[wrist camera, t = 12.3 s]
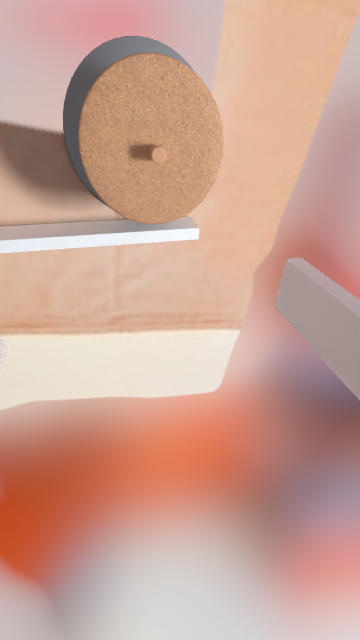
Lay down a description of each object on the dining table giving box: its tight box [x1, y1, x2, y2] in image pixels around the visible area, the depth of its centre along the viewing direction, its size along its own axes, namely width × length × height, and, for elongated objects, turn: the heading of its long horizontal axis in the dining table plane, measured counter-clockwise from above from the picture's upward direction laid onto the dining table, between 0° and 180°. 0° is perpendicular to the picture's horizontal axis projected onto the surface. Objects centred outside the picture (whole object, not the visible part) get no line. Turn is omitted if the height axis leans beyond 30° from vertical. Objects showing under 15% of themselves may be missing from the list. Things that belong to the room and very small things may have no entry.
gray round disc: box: [63, 36, 194, 204], centre depth 27 cm, size 14×14×1 cm
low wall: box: [0, 216, 199, 253], centre depth 29 cm, size 22×1×4 cm, turn 89°
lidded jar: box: [78, 53, 223, 224], centre depth 23 cm, size 11×11×9 cm
